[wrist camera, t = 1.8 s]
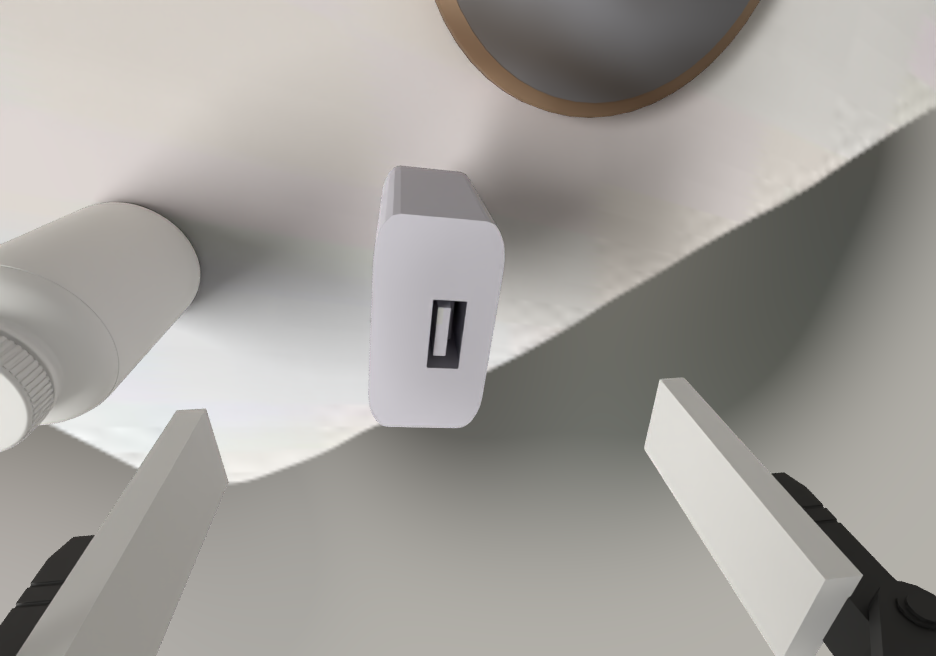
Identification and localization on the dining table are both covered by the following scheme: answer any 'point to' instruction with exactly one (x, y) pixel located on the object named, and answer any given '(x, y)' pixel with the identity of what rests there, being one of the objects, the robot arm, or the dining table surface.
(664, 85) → the round mirror
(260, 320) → the dining table surface
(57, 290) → the pill bottle
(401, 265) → the charger
